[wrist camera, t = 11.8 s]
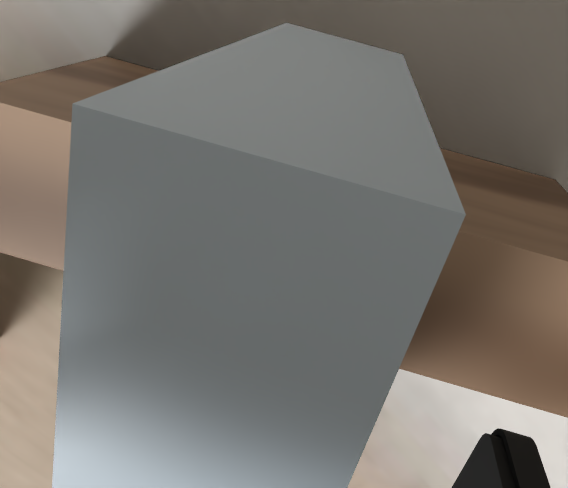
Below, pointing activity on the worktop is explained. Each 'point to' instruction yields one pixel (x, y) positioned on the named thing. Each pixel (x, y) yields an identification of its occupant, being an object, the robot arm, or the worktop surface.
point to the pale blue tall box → (245, 264)
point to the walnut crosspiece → (448, 289)
